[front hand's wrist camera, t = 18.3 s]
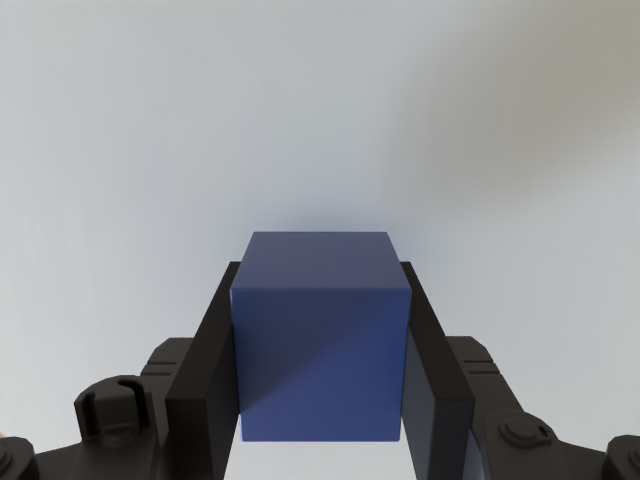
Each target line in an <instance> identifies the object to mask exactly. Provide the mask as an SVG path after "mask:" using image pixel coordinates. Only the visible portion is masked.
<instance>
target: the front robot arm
mask: <svg viewBox="0 0 640 480" xmlns="http://www.w3.org/2000/svg"><path fill="white" fill-rule="evenodd" d="M240 264H241V262H230V264H229V266H228V268H227V270H226V272H225V274H224V276H223V278H222V280H221V282H220V284H219V287H218V289H217V291H216V293H215V295H214V297H213V299H212V301H211V303H210V305H209V307H208V309H207V312H206V314H205V316H204V318H203V320H202V322H201V324H200V326H199V328H198V330H197V332H196V335H195V337H194V338H169V339H167V340H166V341H165V342H163V343H162V344H161V345H160V346H158V347H157V348H156V349H155V350H154V352H153V353H152V355H151V357H150V358H149V360H148V362H147V365H145V367H144V368H143V370H142V372H141V375H140V376H139V377H138V376H135V375H119V376H115V377H111V378H106V379H104V380H102V381H99V382H97V383H95V384H93V385H91V386H90V387H88V388H87V389H86V390H84V391H83V392H82V393H80V395H79V396H78V398H77V399H76V400H75V402H74V407H75V411H76V415H77V420H78V424H79V428H80V433H81V437H82V441H81V442H80V443H77V444H74V445H71V446H68V447H64V448H59V449H55V450H51V451H47V452H42V453H38V454H35V452H34V448H33V445H32V444H31V443H30V442H29V441H28V440H27V439H25V438H19V437H6V438H0V480H223V479H224V475H225V471H226V467H227V463H228V458H229V454H230V450H231V446H232V442H233V437H234V433H235V429H236V425H237V421H238V416H239V406H238V392H237V379H236V366H235V352H234V339H233V326H232V314H231V300H230V288H231V286H232V283H233V281H234V278H235V276H236V274H237V271H238V269H239V266H240ZM400 264H401V266H402V269H403V271H404V273H405V275H406V278H407V280H408V282H409V285H410V287H411V290H412V293H411V306H410V318H409V324H408V334H407V347H406V360H405V373H404V385H403V398H402V411H401V415H402V419H403V424H404V428H405V432H406V436H407V440H408V445H409V449H410V453H411V457H412V461H413V466H414V470H415V474H416V478H417V480H640V436H633V435H623V436H617V437H614V438H613V439H612V440H611V441H610V442H609V443H608V446H607V450H606V452H601V451H597V450H593V449H589V448H584V447H580V446H576V445H572V444H569V443H566V442H563V441H560V440H558V438H557V436H556V435H555V433H554V431H553V430H552V428H550V427H549V426H548V425H547V424H546V423H545V422H543V421H542V420H541V419H539V418H537V417H535V416H533V415H531V414H529V413H527V412H524V410H523V409H522V407H521V405H520V404H519V402H518V401H517V399H516V397H515V396H514V394H513V392H512V391H511V389H510V387H509V386H508V384H507V382H506V381H505V379H504V377H503V376H502V374H500V371H499V369H498V367H497V366H496V364H495V363H493V359H492V358H491V356H490V354H489V353H488V351H487V349H486V348H485V347H484V346H483V345H481V344H480V343H479V342H478V341H476V340H475V339H474V338H472V337H471V336H445V334H444V332H443V330H442V328H441V325H440V323H439V321H438V319H437V317H436V315H435V313H434V311H433V309H432V307H431V305H430V303H429V300H428V298H427V296H426V294H425V292H424V290H423V288H422V286H421V284H420V282H419V280H418V278H417V275H416V273H415V271H414V269H413V267H412V265H411V263H410V262H400Z"/></svg>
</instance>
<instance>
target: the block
mask: <svg viewBox="0 0 640 480" xmlns="http://www.w3.org/2000/svg"><path fill="white" fill-rule="evenodd" d="M411 293H412V290H411V287H410V285H409V282H408V280H407V278H406V275H405V273H404V271H403V269H402V266H401V264H400V262H399V259H398V257H397V255H396V252H395V250H394V248H393V245H392V243H391V241H390V238H389V236H388V234H387V232H254V233H253V235H252V238H251V240H250V242H249V245H248V247H247V250H246V252H245V254H244V257H243V259H242V262H241V264H240V266H239V269H238V271H237V274H236V276H235V278H234V281H233V283H232V286H231V288H230V300H231V314H232V326H233V339H234V352H235V366H236V379H237V392H238V406H239V422H240V435H241V441H244V442H398V441H399V440H400V430H401V417H402V415H401V411H402V398H403V385H404V373H405V360H406V347H407V334H408V324H409V318H410V306H411Z"/></svg>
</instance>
